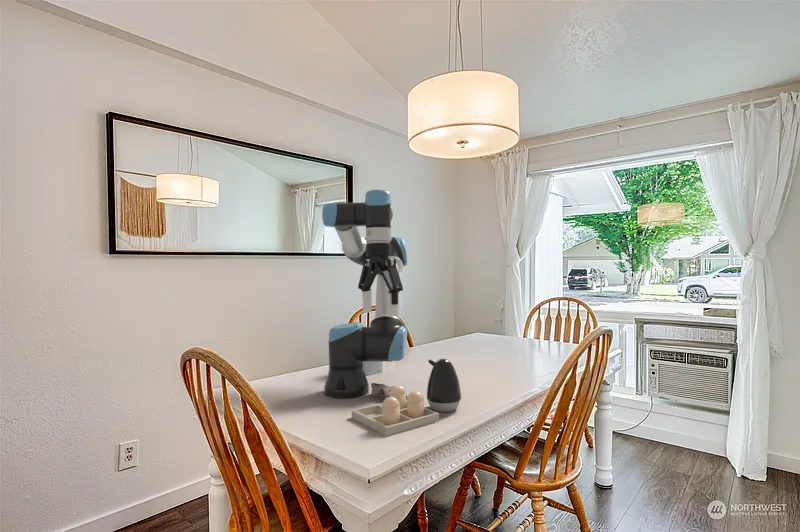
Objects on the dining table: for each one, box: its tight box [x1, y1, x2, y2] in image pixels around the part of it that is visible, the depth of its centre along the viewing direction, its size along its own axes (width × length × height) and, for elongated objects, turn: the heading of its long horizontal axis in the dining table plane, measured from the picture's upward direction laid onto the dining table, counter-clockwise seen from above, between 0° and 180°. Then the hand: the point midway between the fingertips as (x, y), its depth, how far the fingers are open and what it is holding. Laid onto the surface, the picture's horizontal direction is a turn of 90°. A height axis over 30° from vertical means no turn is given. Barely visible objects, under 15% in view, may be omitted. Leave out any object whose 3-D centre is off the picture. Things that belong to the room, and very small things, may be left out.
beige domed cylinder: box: [390, 384, 407, 410], centre depth 129 cm, size 5×5×8 cm
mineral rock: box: [370, 382, 408, 402], centre depth 144 cm, size 15×8×4 cm, turn 30°
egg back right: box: [406, 390, 425, 419], centre depth 123 cm, size 5×5×8 cm
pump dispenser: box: [426, 358, 462, 413], centre depth 132 cm, size 10×10×15 cm
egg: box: [382, 397, 400, 426], centre depth 118 cm, size 5×5×8 cm
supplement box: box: [363, 361, 384, 376], centre depth 181 cm, size 10×9×17 cm
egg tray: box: [351, 400, 440, 437], centre depth 124 cm, size 17×17×2 cm
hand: (379, 314), depth 132 cm, fingers open, 13 cm apart
